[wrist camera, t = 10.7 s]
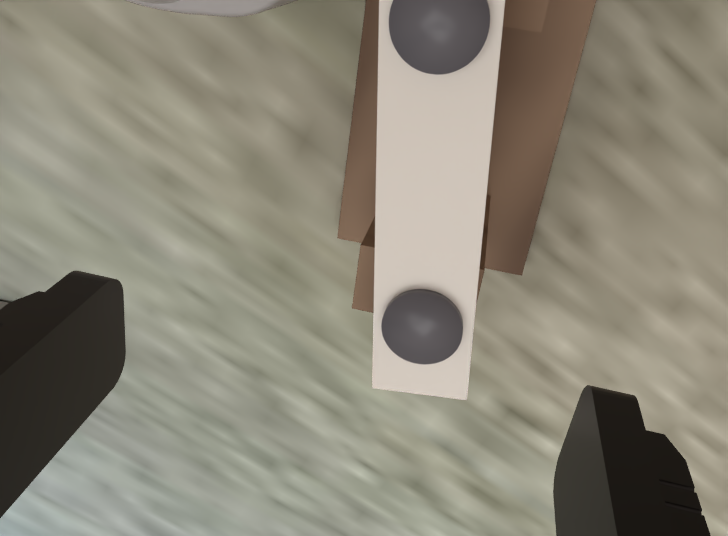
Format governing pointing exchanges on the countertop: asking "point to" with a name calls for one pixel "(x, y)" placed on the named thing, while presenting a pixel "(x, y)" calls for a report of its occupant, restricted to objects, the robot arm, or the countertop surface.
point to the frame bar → (431, 187)
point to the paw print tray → (214, 6)
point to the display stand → (509, 139)
